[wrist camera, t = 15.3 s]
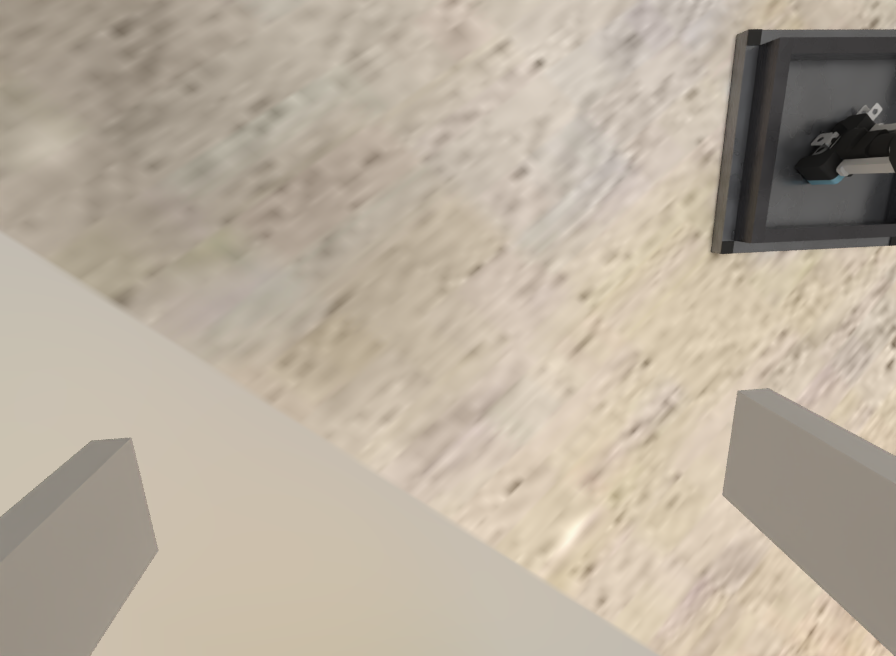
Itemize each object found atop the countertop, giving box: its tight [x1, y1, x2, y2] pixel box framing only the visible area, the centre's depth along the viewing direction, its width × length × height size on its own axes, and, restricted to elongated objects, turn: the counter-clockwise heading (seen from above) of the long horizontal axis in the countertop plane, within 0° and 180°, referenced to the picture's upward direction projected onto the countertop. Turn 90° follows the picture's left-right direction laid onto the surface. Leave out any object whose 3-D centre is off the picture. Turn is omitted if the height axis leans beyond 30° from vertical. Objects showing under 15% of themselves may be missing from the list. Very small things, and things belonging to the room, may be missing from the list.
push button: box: [795, 103, 896, 185], centre depth 33 cm, size 7×5×10 cm
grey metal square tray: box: [711, 29, 896, 254], centre depth 37 cm, size 16×16×3 cm
